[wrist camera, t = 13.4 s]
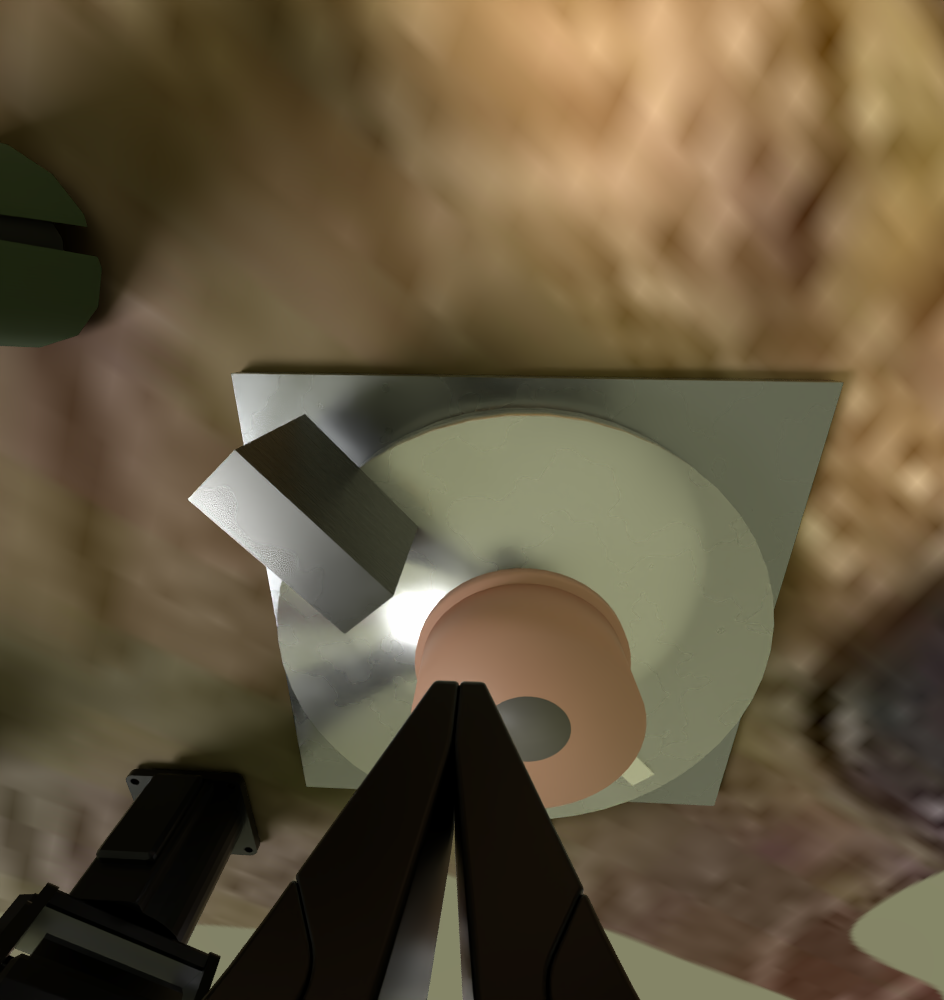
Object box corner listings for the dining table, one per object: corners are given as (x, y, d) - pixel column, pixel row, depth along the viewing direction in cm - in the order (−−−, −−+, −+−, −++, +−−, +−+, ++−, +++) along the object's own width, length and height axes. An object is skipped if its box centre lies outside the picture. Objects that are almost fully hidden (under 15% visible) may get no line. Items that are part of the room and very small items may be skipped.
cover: (669, 668, 19) (706, 742, 15) (509, 763, 21) (512, 844, 18) (535, 525, 17) (545, 576, 13) (374, 649, 19) (349, 718, 16)
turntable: (837, 657, 20) (974, 791, 14) (492, 838, 26) (492, 987, 20) (509, 215, 14) (519, 149, 9) (155, 572, 20) (21, 674, 14)
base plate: (708, 794, 25) (714, 805, 24) (310, 776, 26) (306, 786, 25) (831, 380, 17) (843, 382, 16) (239, 371, 17) (231, 373, 17)
